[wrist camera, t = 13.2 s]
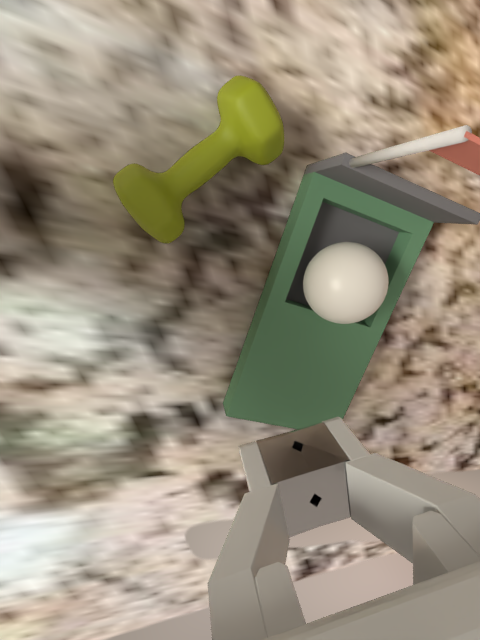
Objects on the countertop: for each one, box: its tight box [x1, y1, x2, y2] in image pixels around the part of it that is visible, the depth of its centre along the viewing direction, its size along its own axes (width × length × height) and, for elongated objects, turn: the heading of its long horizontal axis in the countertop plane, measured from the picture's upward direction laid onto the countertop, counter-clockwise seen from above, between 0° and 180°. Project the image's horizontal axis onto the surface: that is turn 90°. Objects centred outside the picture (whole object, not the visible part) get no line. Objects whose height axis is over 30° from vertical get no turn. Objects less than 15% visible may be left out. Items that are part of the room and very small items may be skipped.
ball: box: [303, 242, 389, 324], centre depth 37 cm, size 9×9×9 cm
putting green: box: [223, 125, 480, 429], centre depth 33 cm, size 31×16×21 cm, turn 161°
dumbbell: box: [113, 76, 284, 244], centre depth 32 cm, size 16×8×7 cm, turn 126°
